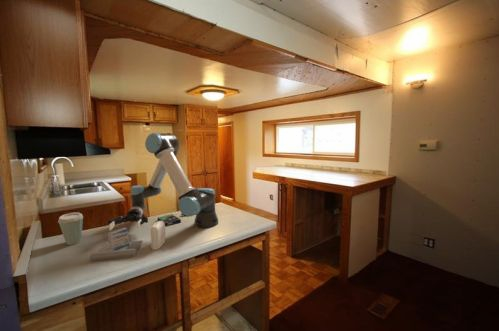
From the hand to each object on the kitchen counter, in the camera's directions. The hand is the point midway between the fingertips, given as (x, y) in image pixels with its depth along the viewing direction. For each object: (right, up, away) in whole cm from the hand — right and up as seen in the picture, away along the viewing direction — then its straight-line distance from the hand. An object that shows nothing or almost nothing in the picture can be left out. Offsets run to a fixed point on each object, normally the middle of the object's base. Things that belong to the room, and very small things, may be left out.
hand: (123, 226), depth 119 cm
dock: (+2, -10, -8) cm, 13 cm away
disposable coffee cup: (-28, -9, +2) cm, 29 cm away
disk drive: (+12, -6, +33) cm, 35 cm away
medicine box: (+2, -8, -7) cm, 11 cm away
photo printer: (+19, -9, -2) cm, 21 cm away
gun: (+23, -4, +48) cm, 53 cm away
